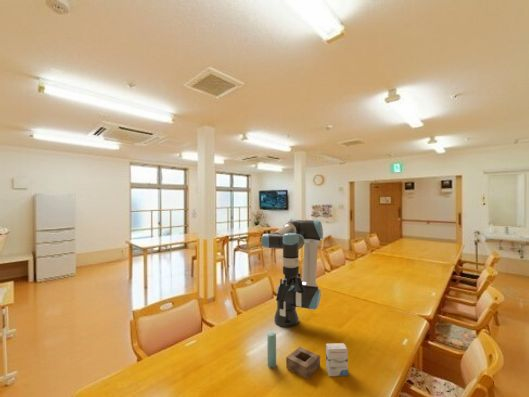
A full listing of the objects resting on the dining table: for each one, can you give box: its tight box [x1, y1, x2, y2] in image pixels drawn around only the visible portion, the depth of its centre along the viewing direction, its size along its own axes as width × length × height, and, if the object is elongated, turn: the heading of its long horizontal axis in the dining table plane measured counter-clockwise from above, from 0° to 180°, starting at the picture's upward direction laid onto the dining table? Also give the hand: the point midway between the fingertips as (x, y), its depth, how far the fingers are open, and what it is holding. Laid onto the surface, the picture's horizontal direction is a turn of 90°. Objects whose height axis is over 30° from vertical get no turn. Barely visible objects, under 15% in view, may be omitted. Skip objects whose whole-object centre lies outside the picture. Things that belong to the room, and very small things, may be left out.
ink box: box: [325, 342, 349, 377], centre depth 113 cm, size 8×5×12 cm, turn 92°
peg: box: [266, 331, 277, 369], centre depth 118 cm, size 4×4×14 cm
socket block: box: [285, 346, 321, 380], centre depth 116 cm, size 11×11×5 cm
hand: (290, 310), depth 121 cm, fingers open, 13 cm apart
